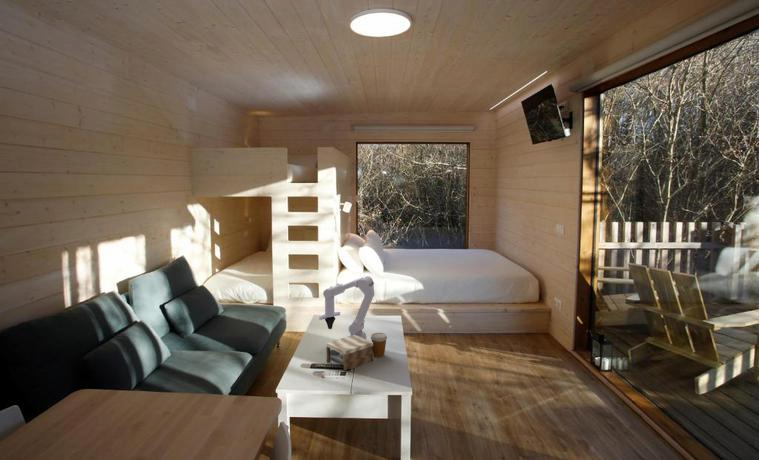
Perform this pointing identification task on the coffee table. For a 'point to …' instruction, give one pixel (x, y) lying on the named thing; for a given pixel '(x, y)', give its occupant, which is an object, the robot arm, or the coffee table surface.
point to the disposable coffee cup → (379, 344)
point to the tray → (337, 356)
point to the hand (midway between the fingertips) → (329, 328)
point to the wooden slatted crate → (352, 350)
